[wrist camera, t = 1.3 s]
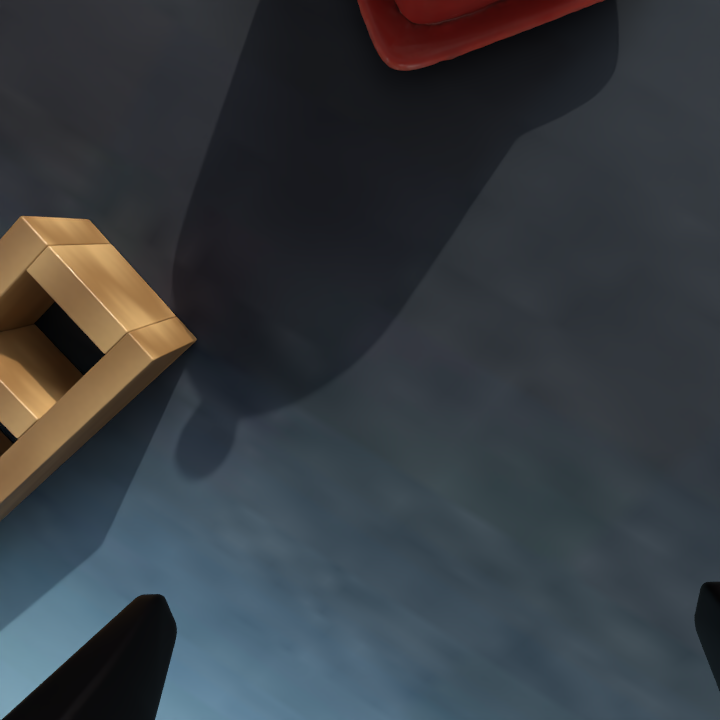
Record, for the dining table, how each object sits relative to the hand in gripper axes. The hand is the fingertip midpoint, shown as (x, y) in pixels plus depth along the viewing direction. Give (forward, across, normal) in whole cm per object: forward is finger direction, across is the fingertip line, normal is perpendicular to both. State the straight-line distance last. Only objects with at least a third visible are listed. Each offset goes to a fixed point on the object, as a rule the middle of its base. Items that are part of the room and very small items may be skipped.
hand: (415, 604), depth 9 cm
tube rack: (+14, +19, +3) cm, 24 cm away
